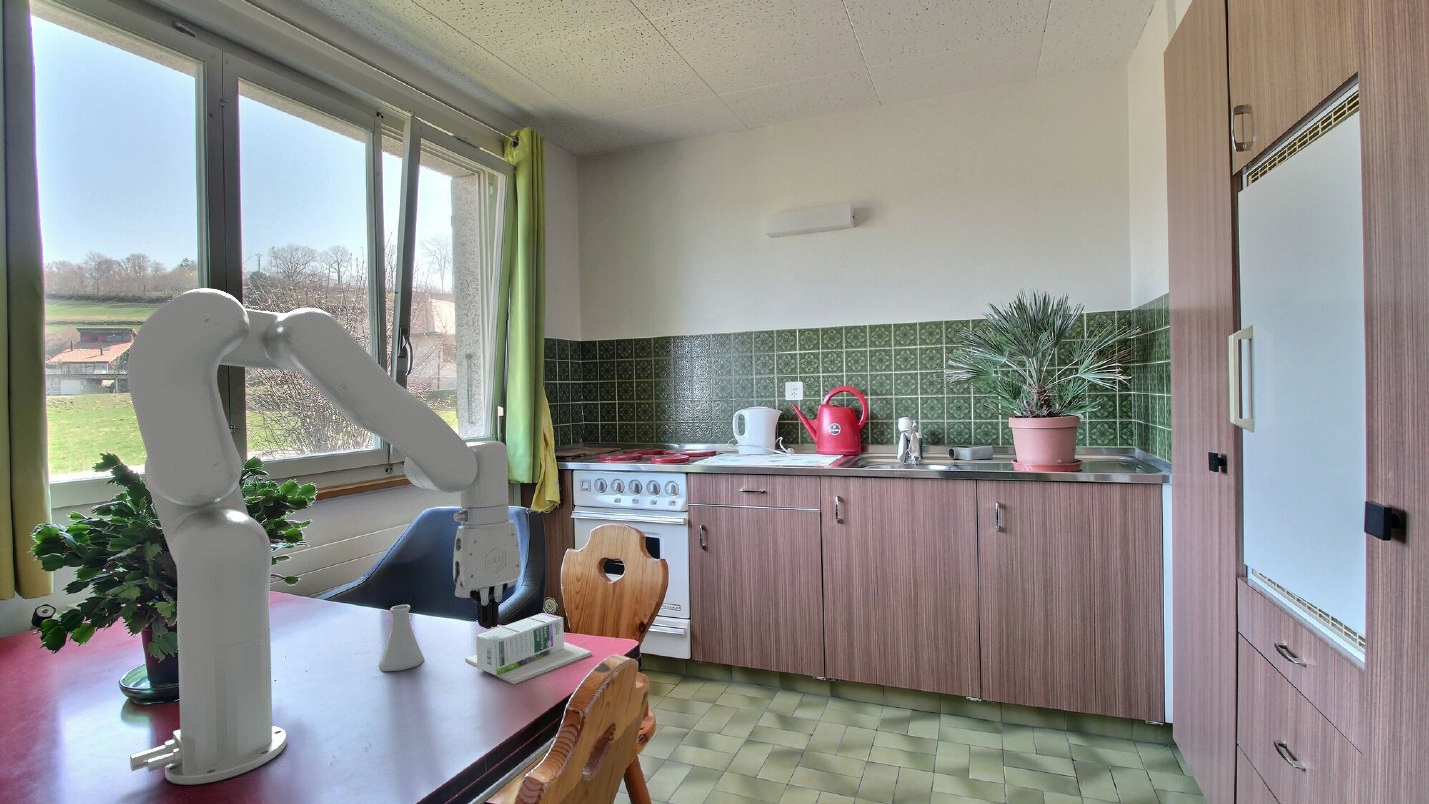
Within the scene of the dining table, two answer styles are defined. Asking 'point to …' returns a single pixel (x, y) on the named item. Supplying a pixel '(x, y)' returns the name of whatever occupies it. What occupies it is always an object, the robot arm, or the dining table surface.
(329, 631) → the dining table surface
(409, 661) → the flask
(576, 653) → the mat
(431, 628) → the dining table surface
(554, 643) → the syrup box
